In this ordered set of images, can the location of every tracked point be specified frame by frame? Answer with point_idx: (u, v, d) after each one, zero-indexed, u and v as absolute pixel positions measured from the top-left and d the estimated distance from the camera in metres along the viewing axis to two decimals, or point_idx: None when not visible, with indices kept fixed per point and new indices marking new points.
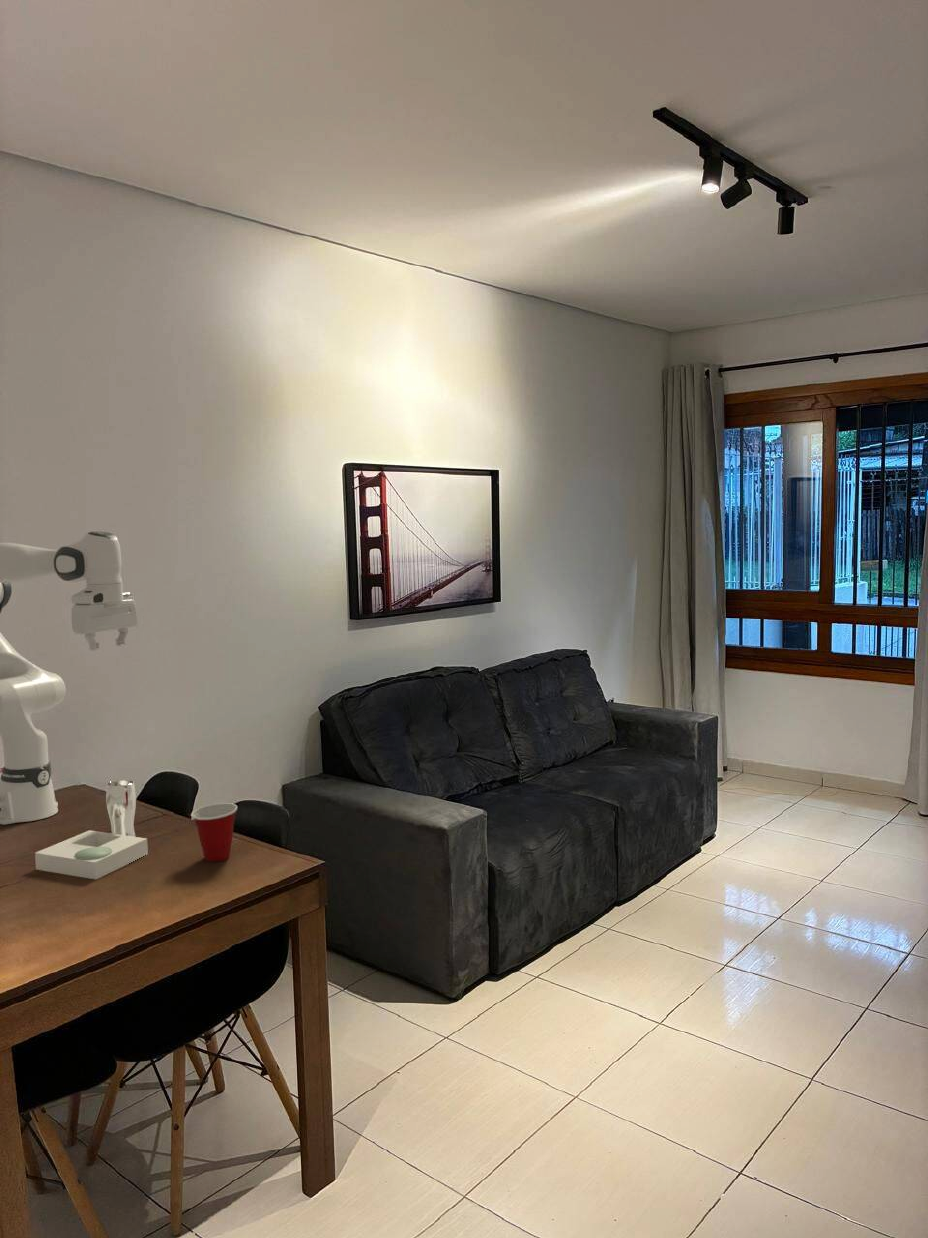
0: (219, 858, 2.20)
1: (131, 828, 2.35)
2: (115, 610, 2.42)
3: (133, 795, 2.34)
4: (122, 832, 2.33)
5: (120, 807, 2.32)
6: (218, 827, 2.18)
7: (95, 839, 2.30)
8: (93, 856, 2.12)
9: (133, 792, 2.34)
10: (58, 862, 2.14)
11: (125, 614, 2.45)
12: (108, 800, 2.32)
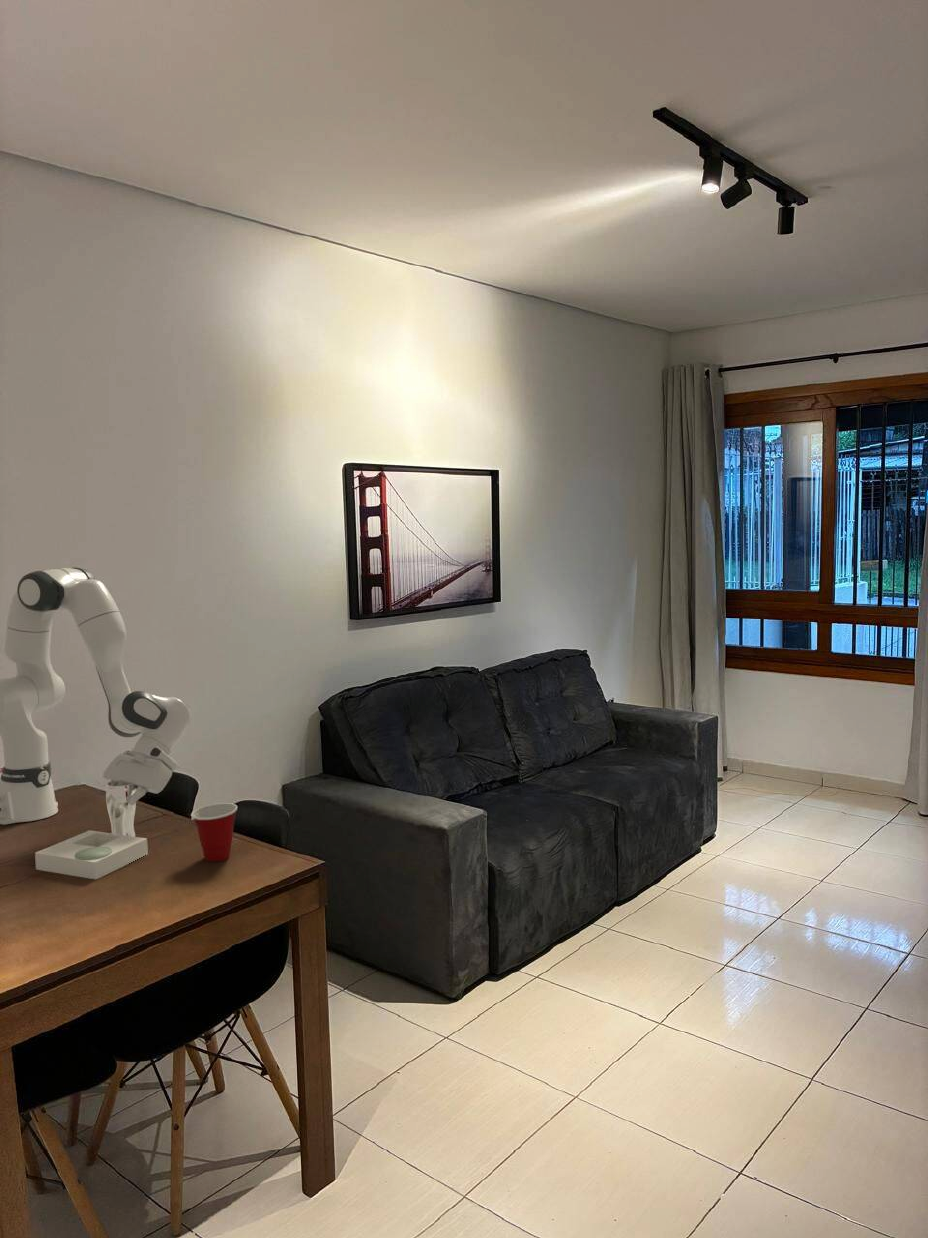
0: (219, 858, 2.20)
1: (131, 828, 2.35)
2: None
3: None
4: (122, 832, 2.33)
5: (120, 807, 2.32)
6: (218, 827, 2.18)
7: (95, 839, 2.30)
8: (93, 856, 2.12)
9: (133, 792, 2.34)
10: (58, 862, 2.14)
11: None
12: (108, 800, 2.32)
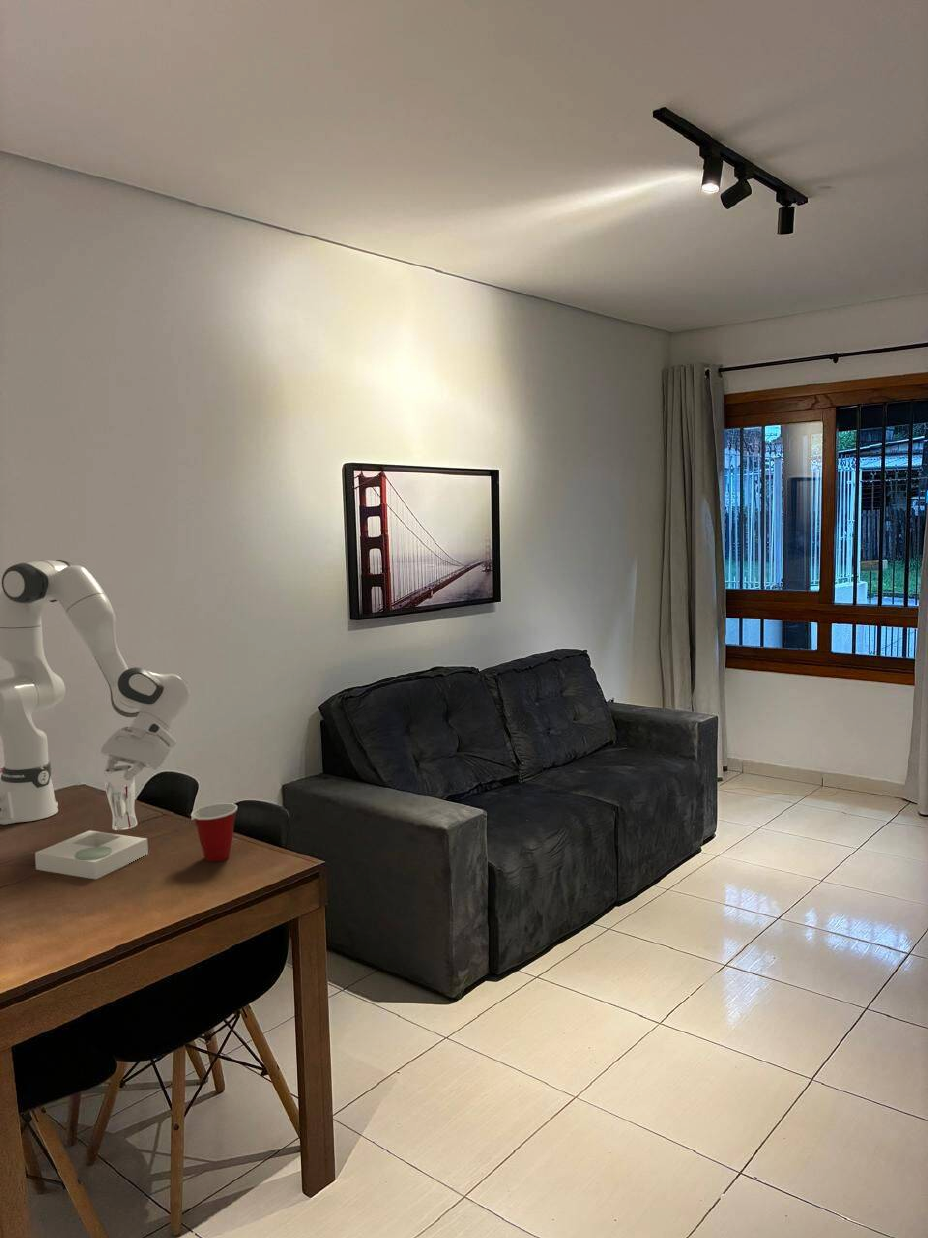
0: (219, 858, 2.20)
1: (133, 813, 2.34)
2: None
3: (132, 779, 2.34)
4: (124, 817, 2.33)
5: (121, 792, 2.31)
6: (218, 827, 2.18)
7: (95, 839, 2.30)
8: (93, 856, 2.12)
9: None
10: (58, 862, 2.14)
11: None
12: (108, 786, 2.31)
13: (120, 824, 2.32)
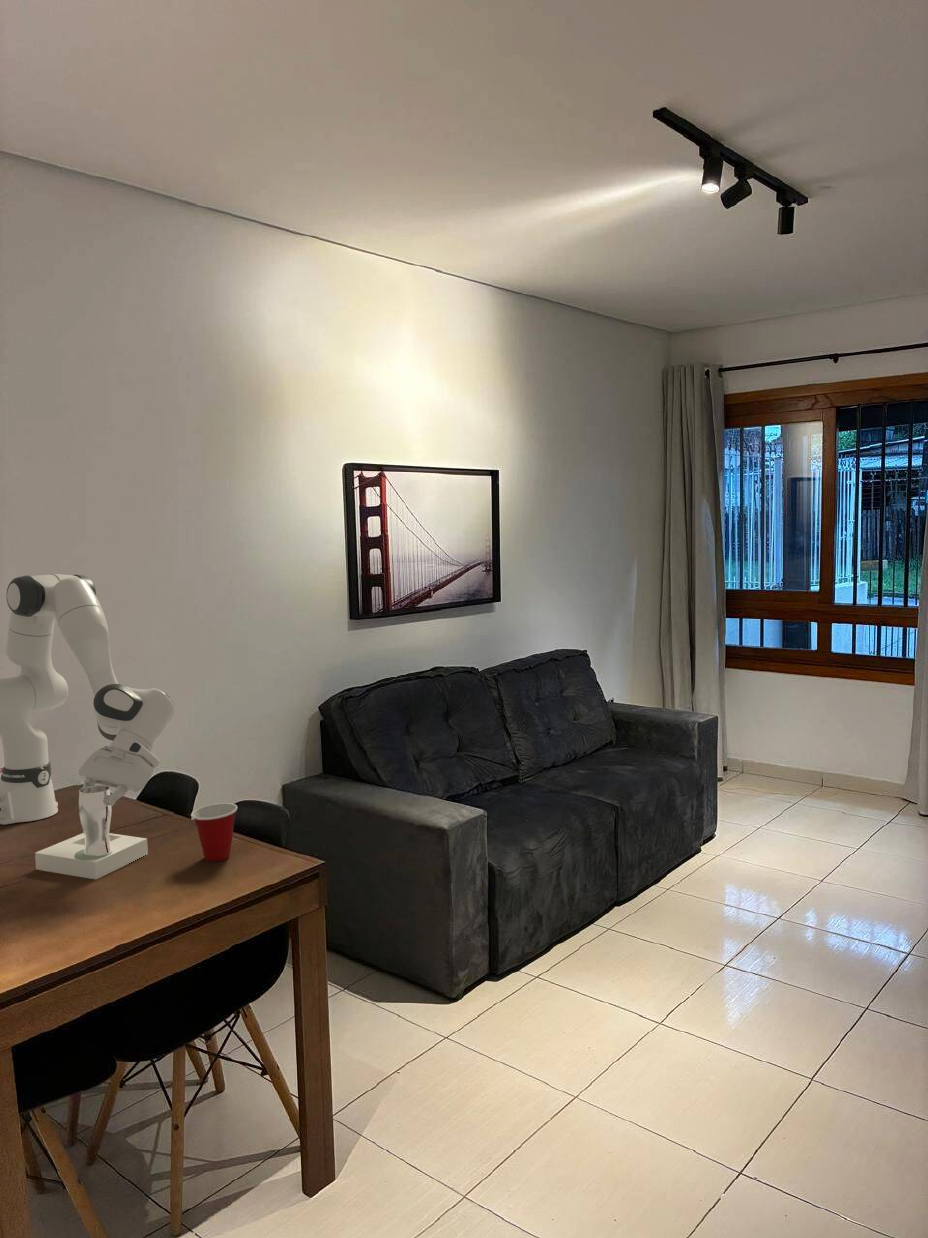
0: (219, 858, 2.20)
1: (107, 838, 2.14)
2: None
3: None
4: (98, 843, 2.12)
5: (96, 816, 2.11)
6: (218, 827, 2.18)
7: None
8: None
9: None
10: (58, 862, 2.14)
11: None
12: (82, 808, 2.11)
13: (93, 850, 2.12)
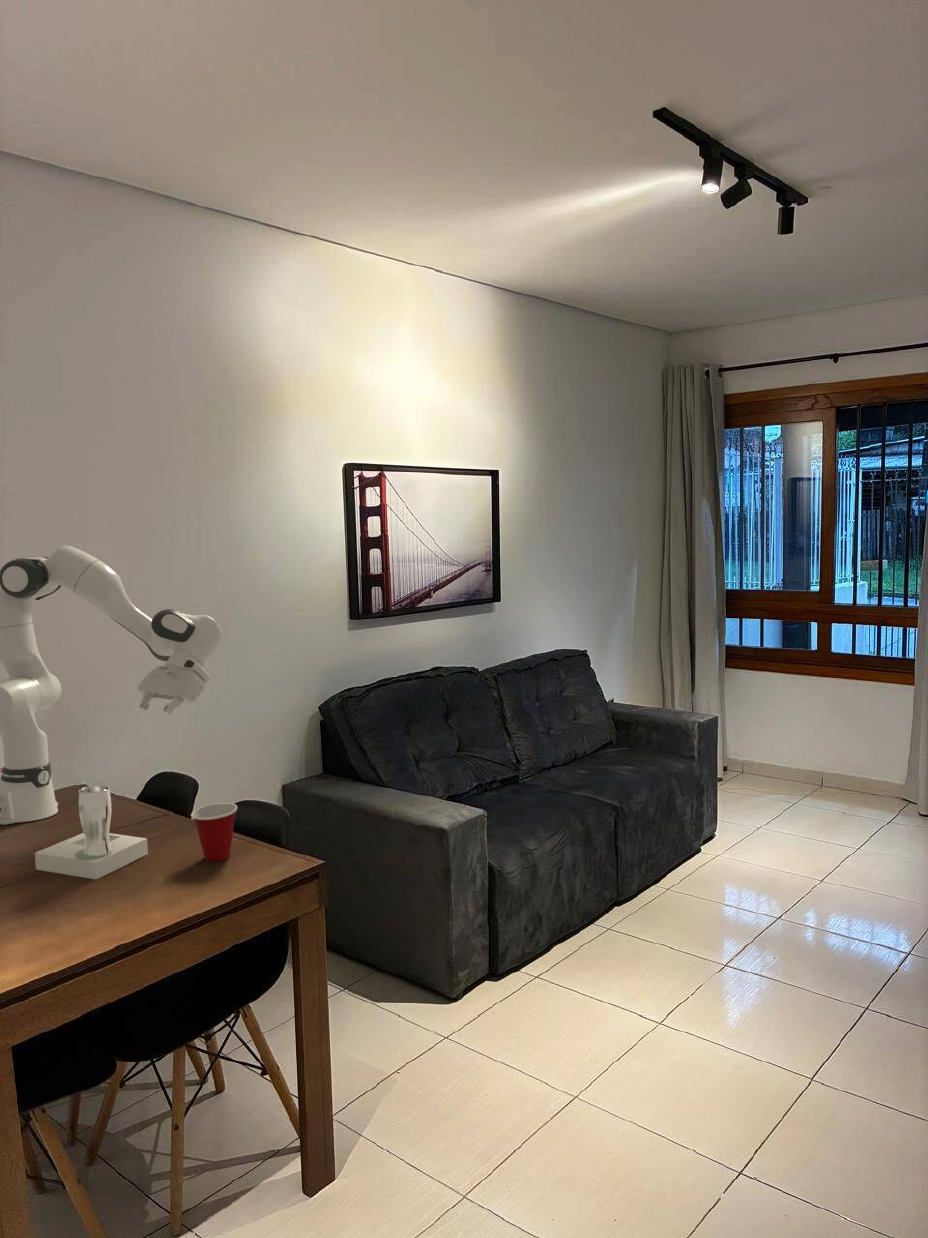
0: (219, 858, 2.20)
1: (107, 838, 2.14)
2: None
3: (109, 802, 2.13)
4: (98, 843, 2.12)
5: (96, 816, 2.11)
6: (218, 827, 2.18)
7: None
8: None
9: (109, 799, 2.14)
10: (58, 862, 2.14)
11: None
12: (82, 808, 2.11)
13: (92, 850, 2.12)
